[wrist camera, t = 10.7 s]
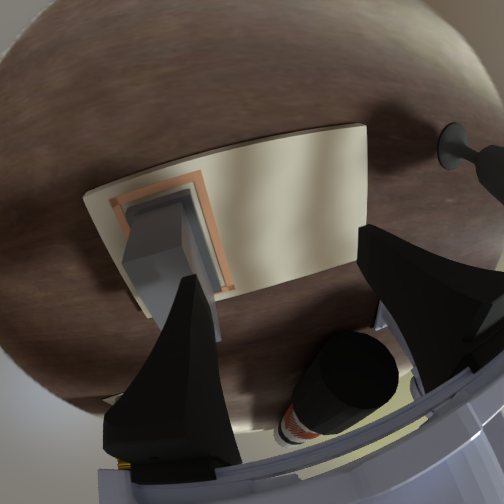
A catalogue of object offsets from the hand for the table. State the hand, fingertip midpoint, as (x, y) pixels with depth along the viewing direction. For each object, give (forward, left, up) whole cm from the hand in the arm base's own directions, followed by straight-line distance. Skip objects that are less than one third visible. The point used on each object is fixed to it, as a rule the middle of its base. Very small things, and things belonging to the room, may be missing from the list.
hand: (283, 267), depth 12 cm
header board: (+1, +3, -9) cm, 10 cm away
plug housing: (+6, +3, -7) cm, 10 cm away
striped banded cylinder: (-3, +36, -10) cm, 38 cm away
